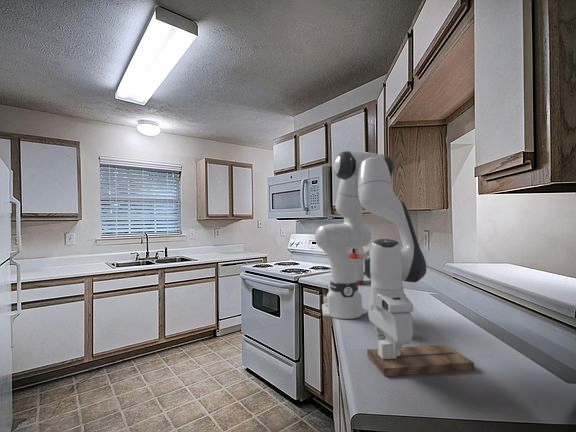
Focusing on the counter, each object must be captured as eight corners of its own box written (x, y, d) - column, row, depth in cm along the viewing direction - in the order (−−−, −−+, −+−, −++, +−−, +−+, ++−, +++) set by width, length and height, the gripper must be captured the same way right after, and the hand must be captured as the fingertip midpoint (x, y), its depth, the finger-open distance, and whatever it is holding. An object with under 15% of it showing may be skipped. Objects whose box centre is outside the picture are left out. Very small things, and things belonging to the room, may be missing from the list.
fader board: (384, 376, 79) (384, 367, 79) (367, 356, 91) (367, 348, 91) (474, 369, 82) (473, 361, 82) (446, 351, 94) (445, 343, 94)
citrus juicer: (367, 286, 189) (366, 253, 189) (339, 284, 194) (338, 253, 195) (368, 281, 204) (368, 251, 204) (342, 280, 209) (342, 250, 210)
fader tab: (382, 359, 84) (382, 344, 84) (378, 354, 87) (377, 340, 87) (396, 358, 84) (396, 343, 85) (391, 353, 87) (391, 339, 87)
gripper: (362, 290, 96) (363, 335, 95) (392, 308, 76) (394, 365, 75) (382, 289, 97) (383, 334, 96) (416, 306, 76) (418, 363, 76)
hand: (388, 347), depth 86 cm, fingers open, 8 cm apart
